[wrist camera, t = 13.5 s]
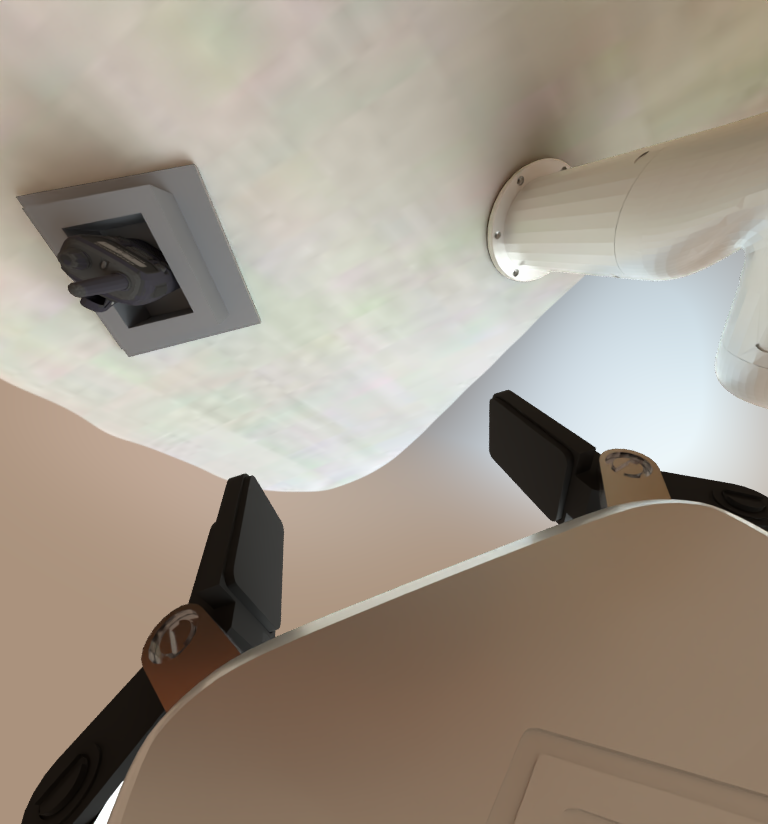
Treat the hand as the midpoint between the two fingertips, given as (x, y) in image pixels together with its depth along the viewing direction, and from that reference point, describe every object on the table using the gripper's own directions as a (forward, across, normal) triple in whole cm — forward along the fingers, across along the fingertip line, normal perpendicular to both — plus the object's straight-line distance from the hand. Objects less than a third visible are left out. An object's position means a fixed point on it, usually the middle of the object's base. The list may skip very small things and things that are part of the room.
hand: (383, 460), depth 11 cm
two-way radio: (+28, +14, -8) cm, 32 cm away
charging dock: (+28, +14, -8) cm, 33 cm away
